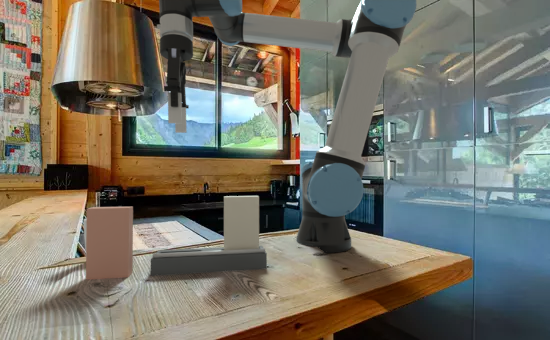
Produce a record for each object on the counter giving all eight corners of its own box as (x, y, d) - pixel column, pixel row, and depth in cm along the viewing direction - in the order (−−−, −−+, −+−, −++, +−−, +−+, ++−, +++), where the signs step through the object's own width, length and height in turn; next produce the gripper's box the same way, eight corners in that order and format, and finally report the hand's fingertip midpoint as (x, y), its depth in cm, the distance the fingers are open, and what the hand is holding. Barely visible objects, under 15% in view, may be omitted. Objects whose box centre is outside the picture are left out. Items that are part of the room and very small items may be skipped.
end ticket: (132, 280, 55) (132, 206, 55) (128, 285, 53) (129, 207, 53) (91, 283, 54) (92, 207, 54) (85, 288, 51) (86, 208, 52)
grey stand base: (262, 266, 63) (262, 241, 64) (266, 276, 57) (266, 249, 57) (158, 272, 60) (158, 246, 60) (150, 283, 53) (150, 254, 53)
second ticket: (257, 262, 61) (257, 195, 62) (259, 265, 59) (258, 196, 59) (223, 264, 60) (223, 196, 60) (223, 267, 58) (224, 197, 58)
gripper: (167, 59, 81) (168, 135, 81) (149, 9, 57) (151, 117, 56) (195, 61, 83) (196, 135, 82) (189, 12, 59) (191, 118, 58)
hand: (178, 128), depth 69 cm, fingers open, 13 cm apart
